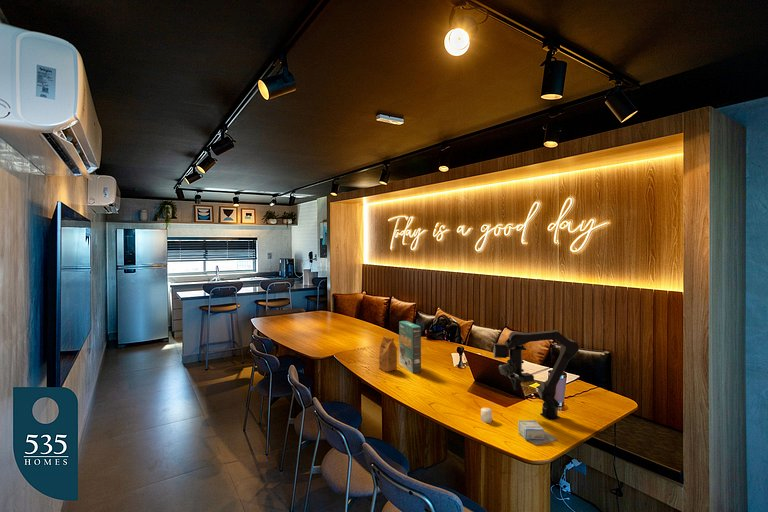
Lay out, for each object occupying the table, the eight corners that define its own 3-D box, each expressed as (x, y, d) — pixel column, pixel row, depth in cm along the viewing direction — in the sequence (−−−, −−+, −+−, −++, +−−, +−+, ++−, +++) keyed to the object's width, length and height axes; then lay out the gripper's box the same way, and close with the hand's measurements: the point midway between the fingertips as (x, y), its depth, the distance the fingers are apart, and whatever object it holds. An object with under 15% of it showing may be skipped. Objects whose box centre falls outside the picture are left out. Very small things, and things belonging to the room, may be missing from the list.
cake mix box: (420, 372, 241) (421, 326, 240) (412, 373, 239) (412, 327, 238) (406, 362, 261) (406, 320, 261) (399, 363, 259) (399, 321, 259)
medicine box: (535, 420, 163) (544, 429, 154) (535, 430, 163) (544, 440, 154) (517, 420, 163) (526, 429, 154) (518, 430, 163) (526, 440, 154)
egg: (487, 417, 176) (487, 406, 176) (494, 421, 172) (494, 411, 172) (478, 418, 174) (478, 408, 174) (485, 423, 170) (485, 412, 170)
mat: (540, 429, 164) (540, 428, 164) (558, 440, 155) (558, 439, 155) (518, 434, 160) (518, 433, 160) (535, 445, 151) (535, 444, 151)
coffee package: (388, 365, 255) (388, 334, 255) (398, 370, 245) (398, 337, 244) (376, 367, 250) (376, 335, 250) (386, 373, 239) (386, 339, 239)
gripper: (489, 355, 184) (489, 385, 185) (515, 365, 167) (515, 399, 167) (507, 352, 188) (507, 382, 189) (534, 363, 171) (534, 396, 171)
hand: (515, 390), depth 179 cm, fingers closed
